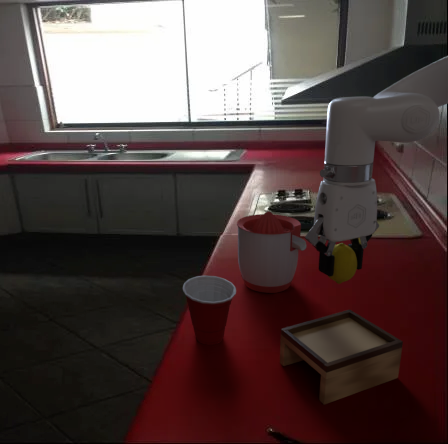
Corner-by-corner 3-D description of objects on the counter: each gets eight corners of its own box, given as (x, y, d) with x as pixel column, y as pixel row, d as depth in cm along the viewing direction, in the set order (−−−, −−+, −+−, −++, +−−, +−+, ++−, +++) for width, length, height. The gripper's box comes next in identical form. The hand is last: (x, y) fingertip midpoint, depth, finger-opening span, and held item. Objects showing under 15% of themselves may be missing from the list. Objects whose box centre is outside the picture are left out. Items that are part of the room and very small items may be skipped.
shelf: (346, 341, 84) (349, 309, 82) (398, 377, 73) (403, 341, 71) (279, 362, 79) (280, 328, 77) (324, 404, 68) (326, 366, 66)
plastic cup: (215, 360, 81) (215, 305, 77) (174, 340, 88) (171, 288, 84) (246, 335, 88) (246, 283, 84) (205, 318, 95) (204, 270, 92)
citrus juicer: (291, 306, 98) (294, 225, 92) (225, 288, 109) (225, 215, 103) (313, 280, 110) (317, 208, 104) (252, 267, 120) (253, 200, 114)
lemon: (327, 274, 81) (330, 236, 78) (358, 281, 78) (362, 240, 75) (318, 286, 77) (321, 245, 74) (350, 293, 73) (354, 251, 71)
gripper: (320, 183, 65) (314, 288, 70) (405, 170, 70) (393, 269, 75) (290, 175, 72) (287, 271, 77) (370, 163, 77) (361, 254, 82)
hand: (340, 269), depth 76 cm, fingers closed on lemon, 5 cm apart
